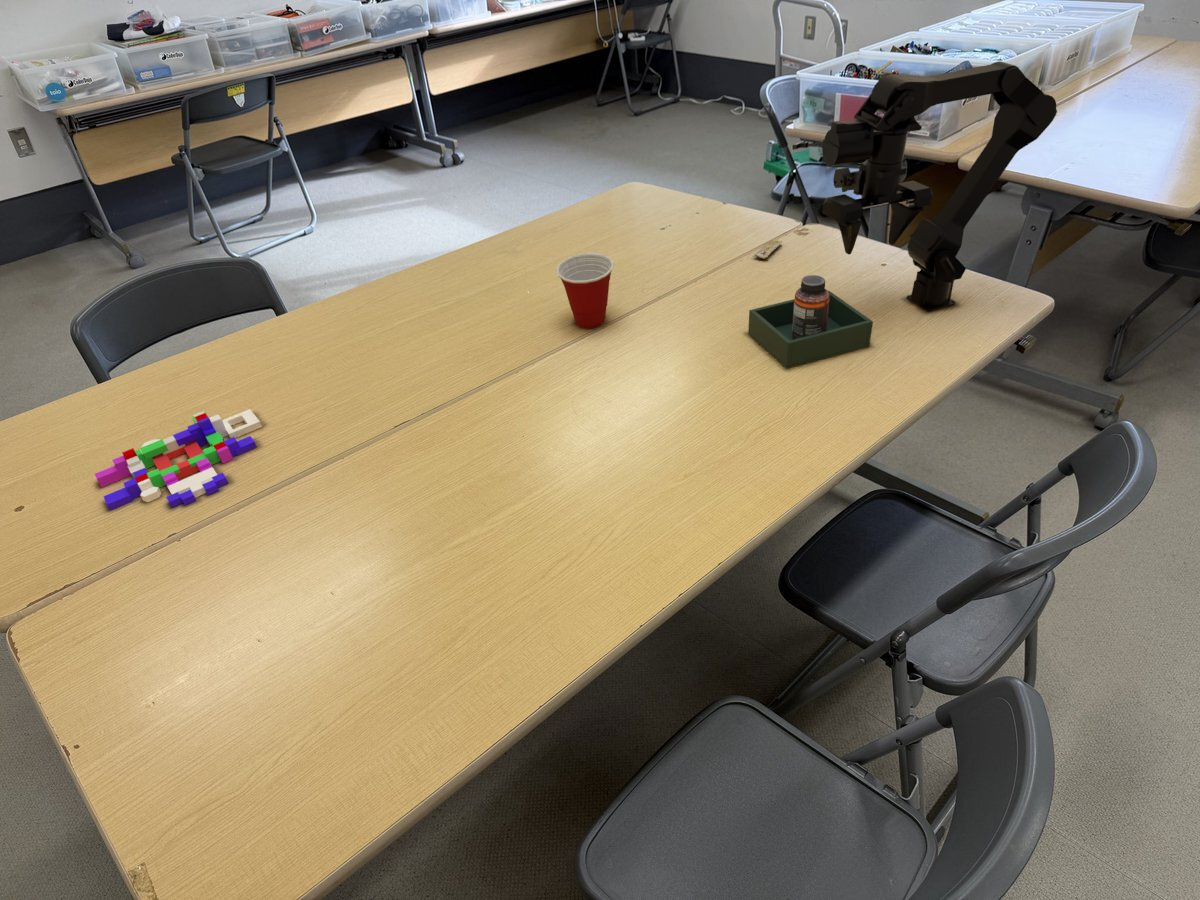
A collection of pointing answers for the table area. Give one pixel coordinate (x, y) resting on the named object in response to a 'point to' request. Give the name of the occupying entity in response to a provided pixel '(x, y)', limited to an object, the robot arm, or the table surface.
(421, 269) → the table surface
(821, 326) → the supplement bottle
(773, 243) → the snack bar
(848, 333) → the bin
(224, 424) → the building block set
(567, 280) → the plastic cup
